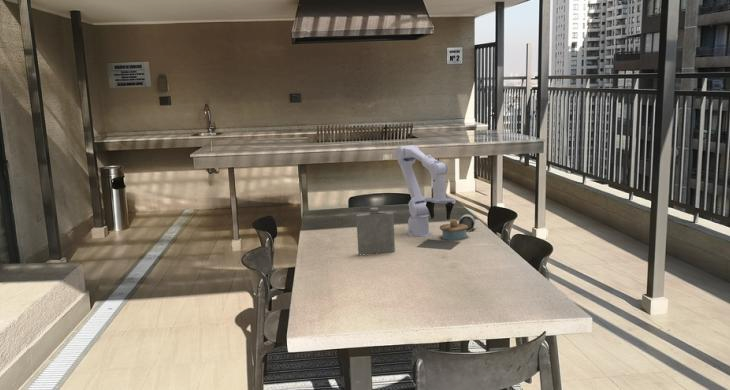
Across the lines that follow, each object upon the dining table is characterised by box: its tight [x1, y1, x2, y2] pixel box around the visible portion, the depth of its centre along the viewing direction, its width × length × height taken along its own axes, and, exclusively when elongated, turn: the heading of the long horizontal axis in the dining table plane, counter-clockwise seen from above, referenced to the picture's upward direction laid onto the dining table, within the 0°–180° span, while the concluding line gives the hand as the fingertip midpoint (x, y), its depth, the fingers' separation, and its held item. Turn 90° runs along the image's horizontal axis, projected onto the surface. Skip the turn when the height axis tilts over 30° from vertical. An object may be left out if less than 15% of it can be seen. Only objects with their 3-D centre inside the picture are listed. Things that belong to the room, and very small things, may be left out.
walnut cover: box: [439, 218, 468, 232], centre depth 278 cm, size 13×13×4 cm
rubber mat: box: [416, 238, 461, 251], centre depth 267 cm, size 16×14×1 cm
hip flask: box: [355, 207, 396, 256], centre depth 258 cm, size 16×4×20 cm, turn 94°
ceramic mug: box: [458, 214, 476, 232], centre depth 293 cm, size 11×8×8 cm
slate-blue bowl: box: [441, 230, 467, 241], centre depth 279 cm, size 11×11×4 cm
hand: (440, 218), depth 273 cm, fingers open, 7 cm apart
